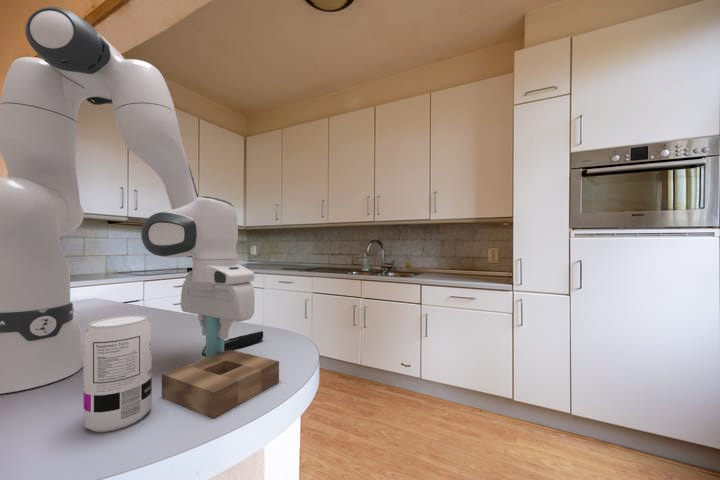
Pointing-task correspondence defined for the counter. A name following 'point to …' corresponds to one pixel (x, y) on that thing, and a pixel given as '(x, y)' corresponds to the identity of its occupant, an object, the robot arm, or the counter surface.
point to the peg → (213, 337)
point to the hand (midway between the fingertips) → (215, 336)
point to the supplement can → (117, 372)
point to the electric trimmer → (240, 341)
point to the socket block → (219, 381)
